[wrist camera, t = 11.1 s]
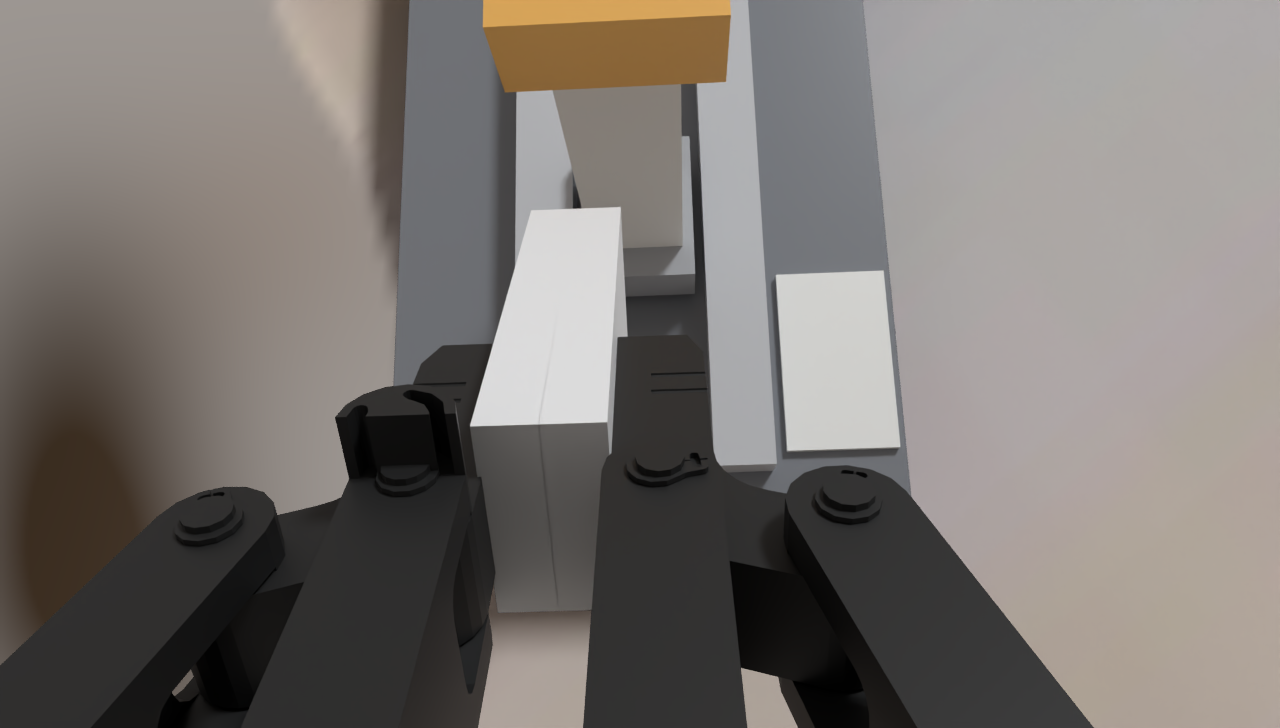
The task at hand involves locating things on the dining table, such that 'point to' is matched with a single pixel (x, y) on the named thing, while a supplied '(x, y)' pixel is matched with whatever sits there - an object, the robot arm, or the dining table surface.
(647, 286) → the lever
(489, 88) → the switch panel
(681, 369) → the robot arm
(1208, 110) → the dining table surface
